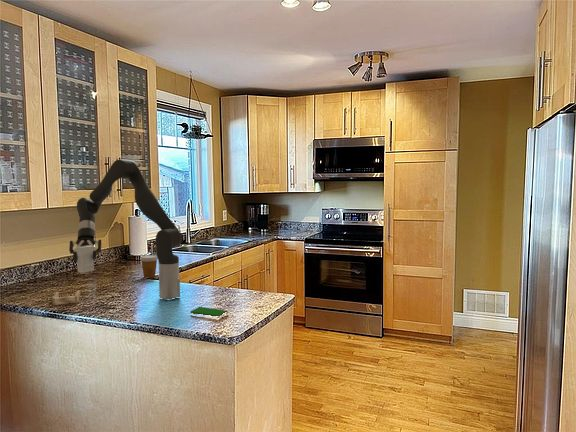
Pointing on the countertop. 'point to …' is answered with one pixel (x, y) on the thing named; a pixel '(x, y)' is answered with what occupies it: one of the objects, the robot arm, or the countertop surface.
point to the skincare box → (85, 258)
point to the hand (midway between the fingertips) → (84, 259)
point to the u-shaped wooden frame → (65, 299)
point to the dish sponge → (208, 311)
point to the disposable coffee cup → (149, 265)
